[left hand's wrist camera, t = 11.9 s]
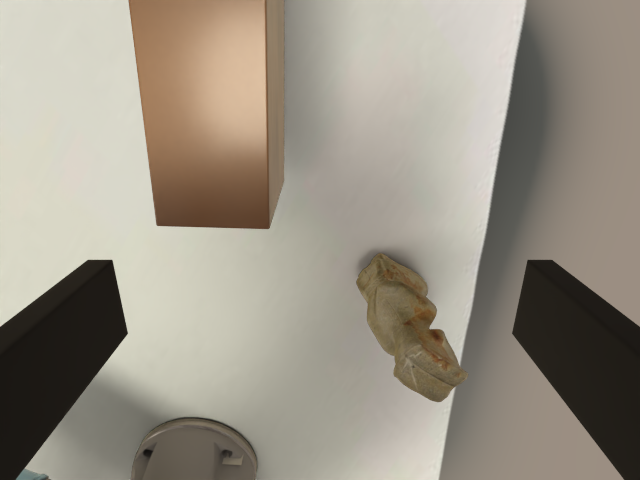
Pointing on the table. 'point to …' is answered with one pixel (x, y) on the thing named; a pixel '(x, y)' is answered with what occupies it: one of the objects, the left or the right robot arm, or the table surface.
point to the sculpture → (409, 328)
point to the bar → (212, 108)
